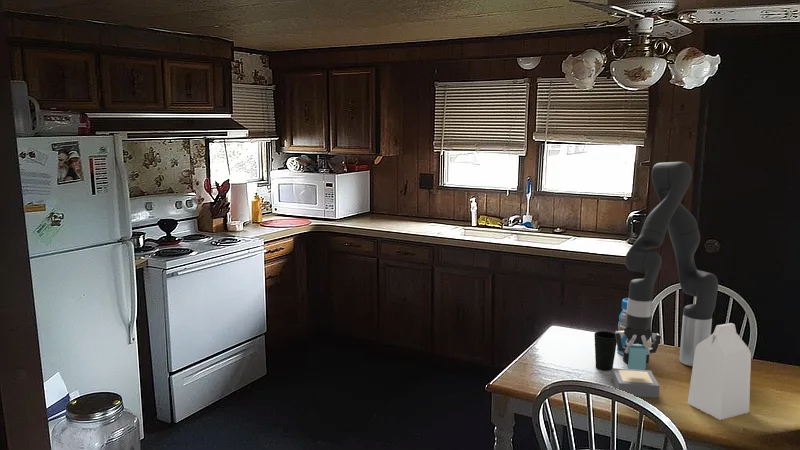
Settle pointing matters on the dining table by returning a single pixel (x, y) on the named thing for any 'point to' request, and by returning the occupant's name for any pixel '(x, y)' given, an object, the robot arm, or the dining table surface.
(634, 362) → the teal block
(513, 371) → the dining table surface
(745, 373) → the milk
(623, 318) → the beverage bottle
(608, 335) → the cup
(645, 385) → the plinth
